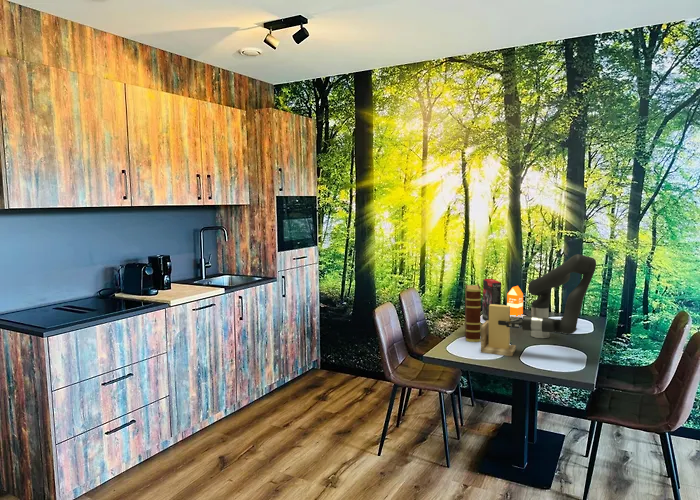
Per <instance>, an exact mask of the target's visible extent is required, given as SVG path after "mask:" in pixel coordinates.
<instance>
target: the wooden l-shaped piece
mask: <svg viewBox="0 0 700 500" xmlns="http://www.w3.org/2000/svg"><path fill="white" fill-rule="evenodd" d="M480 330H481V332H480V339H481V341H480V353H482V354H490V355H498V356H506V357H513V355H514V354H515V352H516V350H517V345H516V344H510V347H509V349H503V348H494V347H489V344H488V334H489V321H488V320H485V322H483V323H482V324H481V325H480Z"/></svg>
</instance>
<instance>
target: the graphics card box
mask: <svg viewBox="0 0 700 500" xmlns="http://www.w3.org/2000/svg"><path fill="white" fill-rule="evenodd" d="M482 285H483V286H482V314H481V315H482V316H481V317H482V319H483V320H485V321H486V320H488V321H489V305H490V304H495V305H502V281H498V280H497V279H493V278H484V279H483V280H482Z"/></svg>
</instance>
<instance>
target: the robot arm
mask: <svg viewBox="0 0 700 500" xmlns="http://www.w3.org/2000/svg"><path fill="white" fill-rule="evenodd" d="M596 268H597V261H596V259H595V258H594V257H590V256H587V255H583V254H578V253H576V254H574V255H573V256H571V257H570V258H568V259H567V260H566V261H565V262H564V263H562V264H560V265H559V266H557V267H555V268H553V269H552V270H550V271H549V272H547V273H545V274H543V275H542V276H540V277H537V278H535V279H532V280H530V282H529V283H528V285H527V286H528V288H527V290H528V292H529V293H530V295H532V296H535V297H537V296H539V297H538V298H537V299H535V300H533V301H531V315H522V317H521V316H518V317H517V316H510V321H501V320H499V321H498V325H506V327H510V328H514V329H519V328H520V327H522V331H525V332H526V331H527V332H530V336H531V337H532V338H536V339H546V338H547V339H549V338H550V333H556V334H557V333H558V334H565V335H572V334H574V333H575V332H576V331H577V325H578V320H579V316H580V314H581V311H582V306H583V301H584V299H585V295H586V294H587V290H588V289H589V286H590V283H591V281H592V279H593V276H594V274H595V272H596ZM572 273H574V274H575V273H576V274H580V275H582V278H581V280H580V282H579V283H578V284H577V286H575V287H574V288H573V290H572V291H571V292H570V293H569V294H568V296H567V298H566V301H565V307H564V313H563V315H562V317H563V318H562V317H561V318H562V320H561V319H559V318H558V319H555V318H549V310H550V302H551V289H552V288H553V289H554V288H558V287H561V286H563V285H564V284H566V283H567V282H569V280H570V279H571V274H572ZM509 323H510V324H509Z"/></svg>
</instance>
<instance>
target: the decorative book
mask: <svg viewBox="0 0 700 500" xmlns="http://www.w3.org/2000/svg"><path fill="white" fill-rule="evenodd" d="M464 290H465V291H464V293H465V295H464V301H465V302H464V304H465V305H464V309H465V311H464V312H465V313H464V331H465V332H464V333H465V341H466V342H470V343H481V325H482V323H481V315H482V314H481V312H482V311H481V309H482V305H481V301H482V298H481V294H482V288H481V286H480V284H479V283H477V284H476V285H475V284H474V285H472V284H471V285H470V284H469V285H468V284H465V287H464Z"/></svg>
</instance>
